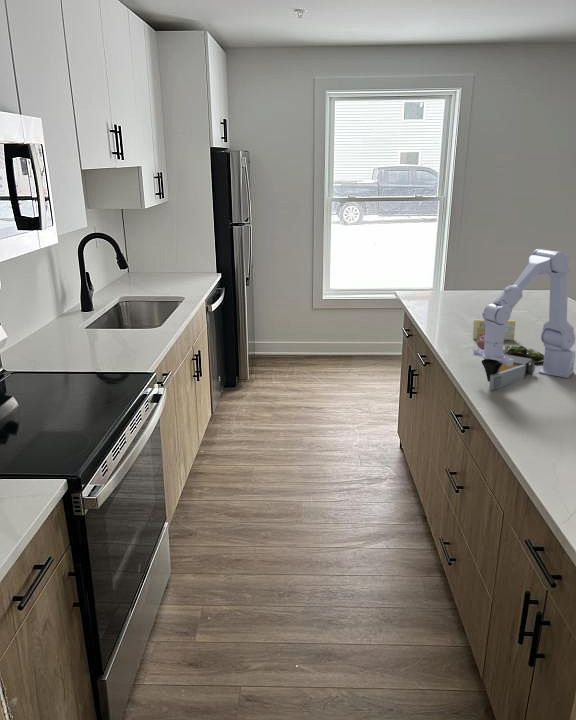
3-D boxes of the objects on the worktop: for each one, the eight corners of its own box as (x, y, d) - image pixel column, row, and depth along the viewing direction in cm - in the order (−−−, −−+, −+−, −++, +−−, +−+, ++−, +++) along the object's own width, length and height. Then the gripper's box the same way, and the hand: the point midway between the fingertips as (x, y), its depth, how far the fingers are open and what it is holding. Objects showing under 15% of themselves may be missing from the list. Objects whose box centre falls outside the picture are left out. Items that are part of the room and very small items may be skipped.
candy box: (513, 339, 243) (515, 320, 241) (513, 341, 242) (515, 321, 239) (472, 338, 248) (473, 318, 245) (472, 339, 246) (473, 320, 243)
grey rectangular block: (536, 373, 204) (537, 359, 203) (529, 379, 199) (531, 365, 197) (497, 366, 212) (498, 353, 211) (490, 371, 207) (491, 358, 206)
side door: (522, 377, 200) (523, 364, 199) (526, 378, 199) (527, 365, 198) (489, 388, 191) (490, 374, 190) (493, 390, 190) (494, 376, 189)
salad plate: (485, 351, 231) (486, 340, 229) (530, 349, 231) (531, 338, 230) (505, 367, 212) (506, 355, 211) (554, 365, 213) (555, 353, 211)
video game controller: (489, 350, 235) (482, 334, 235) (499, 347, 232) (493, 330, 232) (479, 357, 228) (473, 340, 228) (490, 353, 225) (483, 336, 225)
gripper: (467, 338, 193) (465, 377, 197) (504, 348, 181) (500, 390, 185) (482, 334, 196) (480, 373, 201) (519, 344, 184) (515, 385, 189)
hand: (490, 380), depth 193 cm, fingers closed
